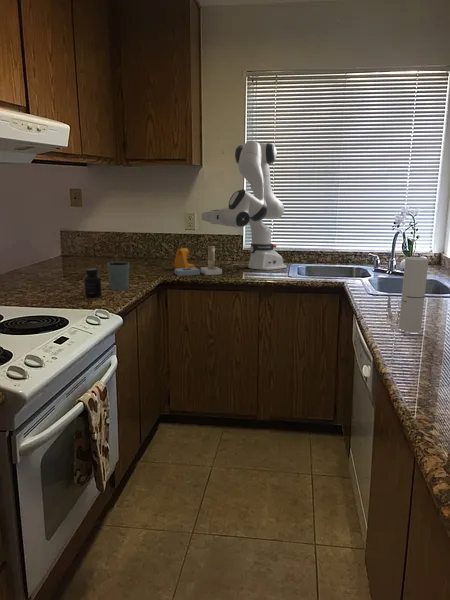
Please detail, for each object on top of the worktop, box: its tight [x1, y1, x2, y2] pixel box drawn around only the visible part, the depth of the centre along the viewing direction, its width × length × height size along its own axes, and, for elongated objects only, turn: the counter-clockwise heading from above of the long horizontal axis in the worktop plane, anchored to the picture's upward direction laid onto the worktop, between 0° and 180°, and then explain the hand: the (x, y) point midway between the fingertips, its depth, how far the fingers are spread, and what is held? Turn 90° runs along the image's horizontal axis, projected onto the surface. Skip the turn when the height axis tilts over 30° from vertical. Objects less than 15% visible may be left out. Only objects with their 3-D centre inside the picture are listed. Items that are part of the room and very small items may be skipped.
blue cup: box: [106, 261, 130, 292], centre depth 228 cm, size 10×10×12 cm
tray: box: [200, 266, 223, 276], centre depth 269 cm, size 9×9×3 cm
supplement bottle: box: [83, 267, 103, 299], centre depth 212 cm, size 7×7×12 cm
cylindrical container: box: [398, 256, 429, 332], centre depth 165 cm, size 7×7×25 cm
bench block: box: [173, 266, 201, 277], centre depth 266 cm, size 12×8×2 cm, turn 110°
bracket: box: [173, 247, 196, 269], centre depth 280 cm, size 11×7×12 cm, turn 40°
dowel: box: [207, 245, 216, 270], centre depth 267 cm, size 4×4×14 cm
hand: (214, 214), depth 253 cm, fingers open, 8 cm apart
